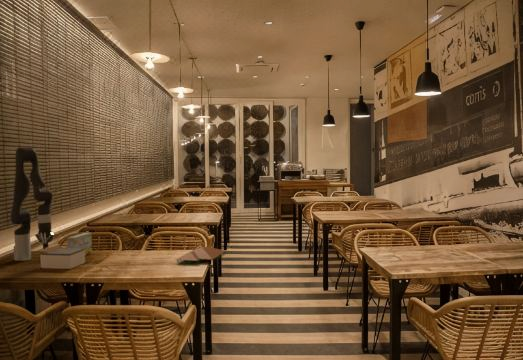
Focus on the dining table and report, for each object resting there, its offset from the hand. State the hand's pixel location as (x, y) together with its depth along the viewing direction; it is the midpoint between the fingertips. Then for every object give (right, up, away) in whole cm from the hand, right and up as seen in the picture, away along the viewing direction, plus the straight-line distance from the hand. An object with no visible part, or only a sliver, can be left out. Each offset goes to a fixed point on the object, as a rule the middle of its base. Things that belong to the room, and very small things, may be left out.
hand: (45, 248), depth 292 cm
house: (+97, -8, +9) cm, 98 cm away
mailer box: (+12, -10, -1) cm, 15 cm away
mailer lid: (+12, -2, -2) cm, 12 cm away
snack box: (+13, -9, +23) cm, 28 cm away
